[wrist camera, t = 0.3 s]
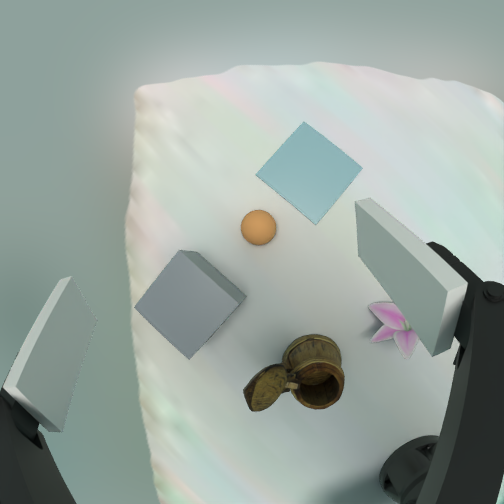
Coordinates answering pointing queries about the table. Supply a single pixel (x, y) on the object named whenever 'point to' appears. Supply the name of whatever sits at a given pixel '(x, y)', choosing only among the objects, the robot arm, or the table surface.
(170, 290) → the matte grey cube
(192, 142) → the table surface
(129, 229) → the table surface
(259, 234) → the ball
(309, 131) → the tape square
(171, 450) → the table surface
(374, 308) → the lily
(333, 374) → the wooden mug
